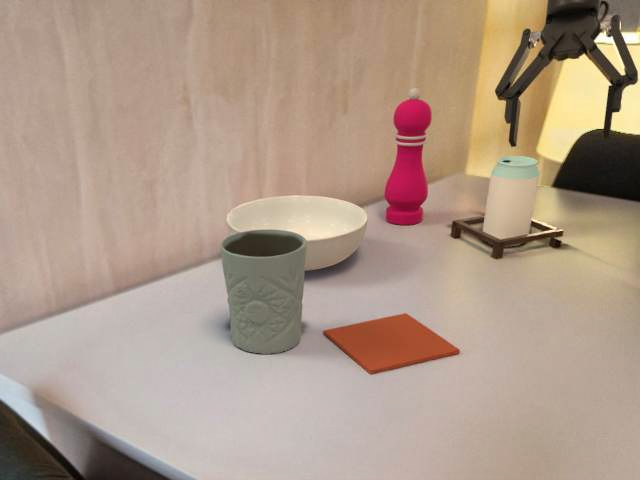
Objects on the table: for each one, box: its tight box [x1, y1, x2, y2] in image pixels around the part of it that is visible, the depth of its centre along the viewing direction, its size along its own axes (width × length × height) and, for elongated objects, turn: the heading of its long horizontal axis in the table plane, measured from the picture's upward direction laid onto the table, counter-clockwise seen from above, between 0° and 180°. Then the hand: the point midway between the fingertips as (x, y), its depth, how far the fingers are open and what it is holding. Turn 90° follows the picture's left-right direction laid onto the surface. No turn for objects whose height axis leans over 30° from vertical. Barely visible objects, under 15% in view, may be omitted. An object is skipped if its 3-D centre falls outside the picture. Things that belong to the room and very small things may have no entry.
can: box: [482, 155, 541, 248], centre depth 117 cm, size 7×7×12 cm
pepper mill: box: [383, 87, 433, 226], centre depth 125 cm, size 7×7×20 cm
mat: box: [322, 312, 461, 375], centre depth 93 cm, size 12×12×1 cm
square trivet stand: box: [450, 214, 564, 259], centre depth 120 cm, size 12×12×2 cm
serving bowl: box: [225, 194, 369, 272], centre depth 114 cm, size 21×21×7 cm
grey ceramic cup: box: [219, 229, 307, 355], centre depth 91 cm, size 10×10×12 cm
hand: (558, 139), depth 117 cm, fingers open, 13 cm apart
